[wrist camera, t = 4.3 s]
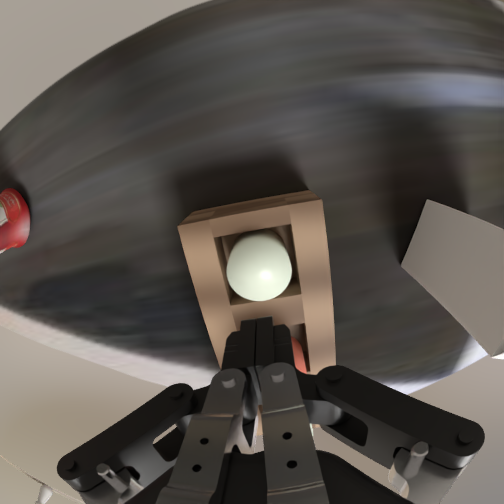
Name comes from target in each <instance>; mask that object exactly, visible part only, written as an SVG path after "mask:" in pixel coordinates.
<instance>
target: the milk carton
mask: <svg viewBox="0 0 504 504" xmlns="http://www.w3.org/2000/svg"><path fill="white" fill-rule="evenodd" d="M401 267H402V268H403V269H404V270H405V271H407V272H408V273H409V274H410V275H411V276H412V277H413V278H414V279H415V280H416V281H417V282H419V283H420V284H421V285H422V286H423V287H424V288H425V289H426V290H427V291H428V292H429V293H430V294H431V295H432V296H433V297H434V298H435V299H436V300H437V301H438V302H439V303H440V304H441V305H442V306H443V307H444V308H445V309H446V310H447V311H448V312H449V313H450V314H451V315H452V316H453V317H454V318H455V319H456V320H457V321H458V322H459V323H460V324H461V325H462V326H463V327H464V328H465V329H466V330H467V331H468V332H469V333H470V334H471V336H472V337H473V338H474V339H475V340H476V341H477V342H478V343H479V344H480V345H481V346H482V348H483V349H484V350H485V351H486V352H487V353H488V354H489V355H490V357H491V358H497V359H504V229H502V228H499V227H497V226H495V225H493V224H490V223H488V222H486V221H483V220H481V219H479V218H476V217H474V216H471V215H469V214H466V213H464V212H461V211H459V210H456V209H453V208H451V207H448V206H445V205H443V204H440V203H437V202H434V201H432V200H429V199H427V200H426V203H425V206H424V208H423V211H422V214H421V217H420V219H419V222H418V225H417V227H416V230H415V232H414V235H413V237H412V240H411V242H410V245H409V247H408V250H407V252H406V254H405V257H404V259H403V261H402V264H401Z"/></svg>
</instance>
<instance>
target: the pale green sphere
mask: <svg viewBox="0 0 504 504" xmlns="http://www.w3.org/2000/svg"><path fill="white" fill-rule="evenodd" d="M291 273H292V269H291V263H290V260H289V256H288V253H287V249H286V246H285V243H284V242H283V240H282V239H281V237H280V236H279V235H278V234H276V233H275V232H273V231H271V230H269V229H265V228H264V229H258V230H253V231H247V232H243V233H242V234H240V235H239V236H238V237H237V239H236V240H235V242H234V243H233V246H232V249H231V253H230V257H229V260H228V264H227V278H228V281H229V284H230V285H231V287H232V288H233V290H234V291H235V292H236V293H237V294H239V295H240V296H242V297H244V298H246V299H249V300H252V301H265V300H269V299H272V298H274V297H276V296H278V295H279V294H281V293H282V292H283V291H284V290H285V289H286V287H287V286H288V284H289V282H290V279H291Z"/></svg>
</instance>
